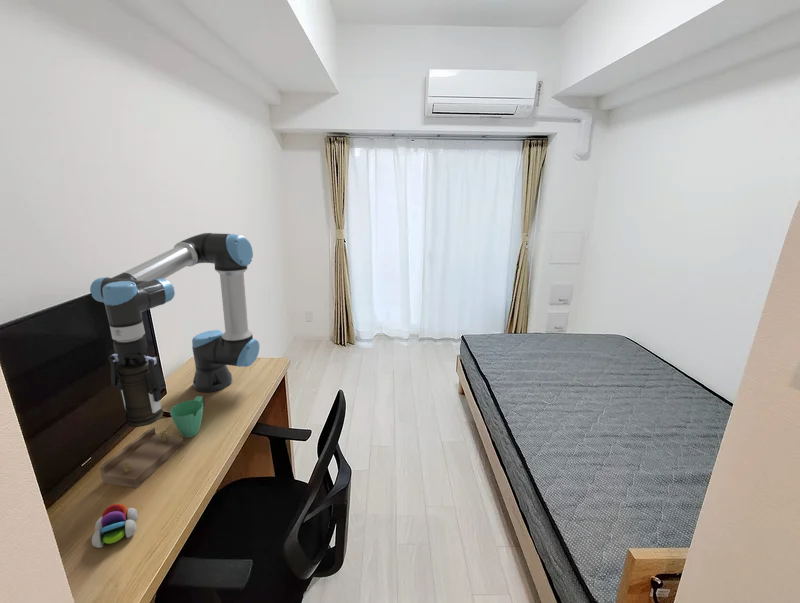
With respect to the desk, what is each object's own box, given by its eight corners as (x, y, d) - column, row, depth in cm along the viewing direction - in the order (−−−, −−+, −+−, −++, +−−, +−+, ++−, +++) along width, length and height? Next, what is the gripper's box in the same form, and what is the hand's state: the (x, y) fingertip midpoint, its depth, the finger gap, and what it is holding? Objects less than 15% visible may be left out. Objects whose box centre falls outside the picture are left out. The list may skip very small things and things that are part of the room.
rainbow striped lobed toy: (139, 512, 100) (134, 490, 98) (135, 541, 92) (130, 518, 90) (99, 525, 96) (93, 502, 94) (92, 556, 88) (85, 532, 86)
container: (170, 412, 116) (160, 359, 111) (143, 430, 108) (132, 373, 102) (146, 407, 118) (136, 355, 113) (119, 424, 110) (106, 368, 104)
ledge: (154, 440, 127) (151, 425, 125) (183, 445, 126) (181, 429, 124) (103, 482, 109) (98, 465, 107) (136, 488, 108) (133, 470, 106)
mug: (198, 442, 127) (194, 416, 124) (168, 442, 127) (163, 416, 124) (217, 416, 141) (214, 393, 138) (190, 416, 141) (186, 392, 138)
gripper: (83, 339, 103) (100, 412, 110) (153, 345, 100) (166, 419, 107) (107, 329, 110) (122, 398, 117) (173, 335, 107) (184, 405, 114)
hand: (143, 408), depth 112 cm, fingers closed on container, 8 cm apart
